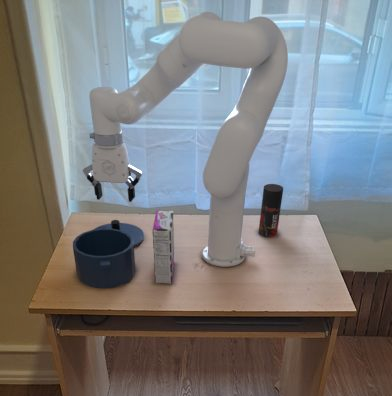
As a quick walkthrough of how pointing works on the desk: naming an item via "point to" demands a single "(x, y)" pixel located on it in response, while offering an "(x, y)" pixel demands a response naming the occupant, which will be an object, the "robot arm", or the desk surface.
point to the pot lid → (126, 230)
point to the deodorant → (270, 210)
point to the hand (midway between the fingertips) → (115, 199)
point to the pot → (104, 257)
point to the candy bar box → (163, 247)
